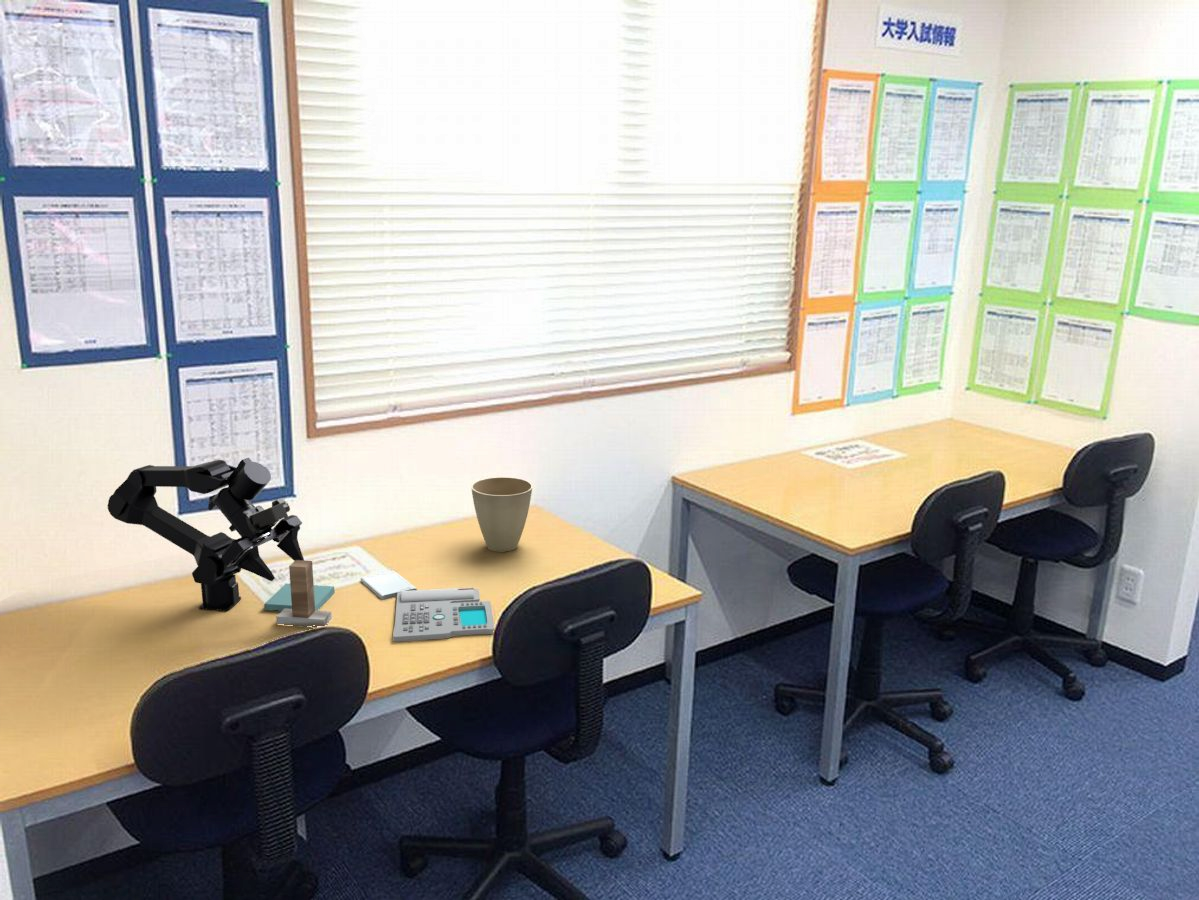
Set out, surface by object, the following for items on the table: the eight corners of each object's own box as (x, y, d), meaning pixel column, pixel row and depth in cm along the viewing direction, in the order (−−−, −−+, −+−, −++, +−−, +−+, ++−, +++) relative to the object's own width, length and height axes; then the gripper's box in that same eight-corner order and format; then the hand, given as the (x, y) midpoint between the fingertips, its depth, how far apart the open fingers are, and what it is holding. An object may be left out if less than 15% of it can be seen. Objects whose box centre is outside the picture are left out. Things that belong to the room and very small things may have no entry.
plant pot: (459, 549, 245) (458, 487, 241) (498, 532, 257) (497, 473, 253) (507, 562, 237) (506, 498, 233) (544, 544, 249) (544, 483, 245)
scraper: (324, 628, 201) (320, 568, 197) (276, 625, 202) (272, 565, 199) (331, 620, 205) (328, 561, 201) (285, 617, 206) (280, 558, 202)
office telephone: (396, 585, 217) (488, 581, 220) (396, 596, 218) (488, 592, 221) (392, 630, 195) (495, 624, 198) (393, 642, 196) (495, 636, 199)
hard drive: (417, 587, 219) (394, 569, 229) (382, 595, 215) (360, 576, 225) (417, 594, 220) (394, 576, 230) (382, 602, 215) (360, 583, 225)
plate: (264, 610, 209) (264, 603, 208) (286, 589, 219) (285, 583, 219) (315, 613, 208) (314, 607, 207) (334, 592, 218) (334, 586, 218)
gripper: (228, 502, 191) (278, 565, 190) (291, 477, 208) (338, 535, 206) (199, 535, 196) (248, 596, 195) (264, 508, 213) (309, 564, 211)
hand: (288, 571), depth 202 cm, fingers open, 9 cm apart
